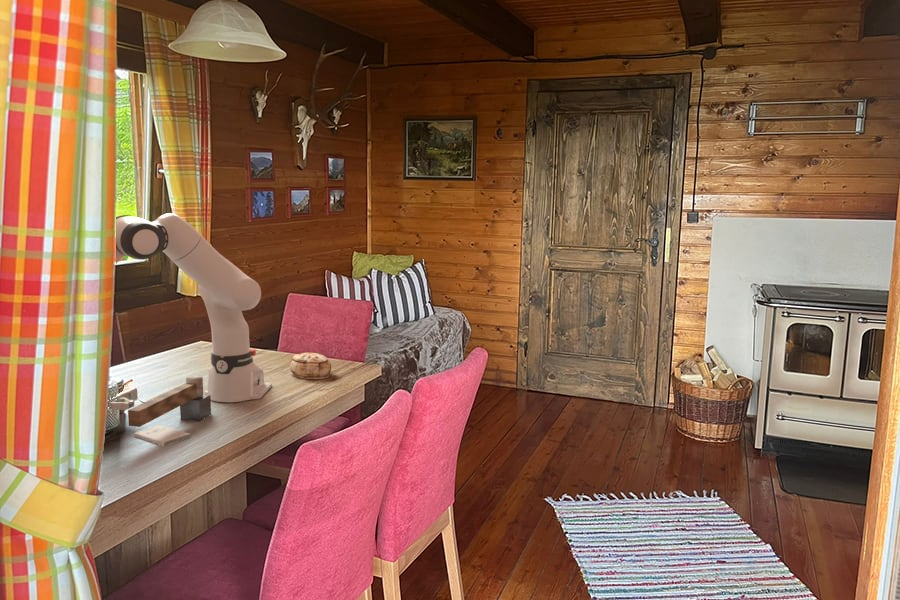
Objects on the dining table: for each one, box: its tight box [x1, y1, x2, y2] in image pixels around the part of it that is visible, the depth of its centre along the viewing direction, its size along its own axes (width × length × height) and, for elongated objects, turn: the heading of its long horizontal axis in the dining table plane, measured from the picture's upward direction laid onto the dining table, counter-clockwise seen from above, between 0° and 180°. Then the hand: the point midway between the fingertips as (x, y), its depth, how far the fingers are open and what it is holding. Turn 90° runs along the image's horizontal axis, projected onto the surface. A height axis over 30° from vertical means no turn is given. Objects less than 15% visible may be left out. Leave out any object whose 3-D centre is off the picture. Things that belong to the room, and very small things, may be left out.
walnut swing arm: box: [127, 375, 204, 428], centre depth 191 cm, size 30×4×5 cm, turn 168°
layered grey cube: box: [179, 393, 212, 422], centre depth 205 cm, size 6×6×6 cm
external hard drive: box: [133, 424, 192, 447], centre depth 189 cm, size 2×8×12 cm
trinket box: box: [289, 352, 332, 380], centre depth 251 cm, size 13×15×8 cm
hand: (131, 405), depth 188 cm, fingers closed
